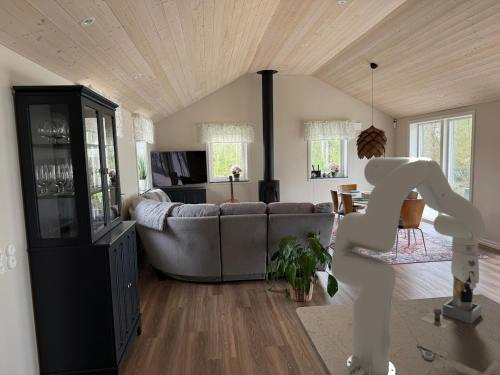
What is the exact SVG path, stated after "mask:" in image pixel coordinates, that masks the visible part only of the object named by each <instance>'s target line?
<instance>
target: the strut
mask: <svg viewBox="0 0 500 375" xmlns="http://www.w3.org/2000/svg"><path fill="white" fill-rule="evenodd" d="M466 282H469V280H466ZM466 286H469V284H466ZM461 291H463V286H462V281H460V280H459V279H457V278H456V277H454V278H453V285H452V298H453V304H452V307H455V308H458V309H462V310H465V311H468V312H471V311H472V303H474V301H473V299H474V291H473V292H472V302H471V303H467V302H461Z"/></svg>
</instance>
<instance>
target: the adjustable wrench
mask: <svg viewBox="0 0 500 375" xmlns="http://www.w3.org/2000/svg"><path fill="white" fill-rule="evenodd" d="M417 347H418V349H419V351H420V353H421V354H422V356H423V358H424V359H426V360H429V361H433V360H435V358H434V356H435V355H434V353H433V352H432V350H430V349H427V348H425V347H423V346H420V345H418V344H417Z"/></svg>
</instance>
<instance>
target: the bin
mask: <svg viewBox="0 0 500 375" xmlns="http://www.w3.org/2000/svg"><path fill="white" fill-rule="evenodd" d="M452 304H453V297H452V298H450V299H449V300H448V301H446V302H445V303H443V304H442V315H443V316H445V317H446V316H447V317H448V318H449V317H450V318H451V319H454V320H459V321H462V322H464V323H467V324H471V325H472V324H473V323H474V322H476V320H477V319H478V318H479V317H481V315H482V305H481V304H478V303H474V302H473V303H472V311H471V312H468V311H465V310H462V309H458V308H455V307H452Z"/></svg>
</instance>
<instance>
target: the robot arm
mask: <svg viewBox="0 0 500 375" xmlns="http://www.w3.org/2000/svg"><path fill="white" fill-rule="evenodd" d="M363 172H364V173H363V174H364V177H365V180H366V182H367V183H369V185H371V186H374V187H373V188H372V190H371V192H370V194H369V196H368V200H367V204H366V209H365V212H364V213H361V212H354V211H353V212H350V213H347V214H345V215H344V216H343V217H342V218H341V220H340V221H339V223H338V225H337V229H336V233H335V234H336V235H335V240H334V246H333V251H332V256H331V264H330V265H331V270H330V271H331V273H332V276H333V278H334V279H335V280H336V281H338V282H340V283H342V284H345V285H347V286H349V287H352V288H354V289H357V290H358V291H359V292H360V294H359V296H358V297H357V298H356V299H355V300H354V303H353V306H352V355H351V356H349V357H348V359H346V360H347V361H346V366H345V367H344V368H343V374H344V375H396V368H395V366H394V364H393V363H392V362H391V361H390V348H391V311H392V309H391V307H392V299H393V298H392V297H393V292H394V289H395V284H396V280H397V279H396V277H397V276H396V270H395V268H394V266H393V265H391V264H390V262H388V261H386V260H385V259H382V258H379V257H376V256H373V255H369V254H365V253H361V252H360V249H363V250H367V251H371V252H374V253H379V254H386V253H389V252H391V251H392V250H393V248H394V247H395V243H396V239H397V234H398V229H399V224H400V217H401V211H402V208H403V207H402V206H403V204H404V202H405V199H406V198H407V197H408V195H409V194H410V193H412V192H413V191H414V190H415V189H416V190H417V192H418V194H419V195H420V197H421V199H422V201H423V202H424V204H425V205H426V206H427V207H428V208H430V209H432V210H434V211H436V212H438V213H440V214H438V215H437V216H436V217H435V218H434V220H433V228H434V230H435V231H436V233H437V234H440V235H442V236H446V237H452V243H451V246H452V247H451V251H452V254H451V263H450V264H451V265H450V270H451V271H450V272H451V274H452V277H453V279H454V277H456V278H457V279H459V280H460V281H462V286H463V291H461V302H467V303H471V302H472V292H473V293H474V289H476V288H477V285H476V284H479V282H480V281H479V280H480V264H479V263H480V262H479V257H478V254H479V253H478V252H479V240H481V239H482V238H483V237H484V235H485V233H486V224H485V221H484V218H483V216H482V213H481V212H480V209H479V208H478V207H477V206H476V205H475V204H474V203H472V202H471V201H470V200H468V199H467V198H465V197H464V196H462V195H461V194H459V193H457V192H455V191H454V190H453V189H452V187H451V185H450V183H449V181H448V179H447V177H446V175H445V173H444V171H443V169H442V168H441V166H440V164H439V162H437V161H436V160H435V159H433V158H428V157H405V156H403V157H402V156H401V157H399V156H398V157H386V156H385V157H380V156H379V157H374V158H371V159H370V160H369V161H367V163H366V165H365V166H364V171H363ZM466 280H469V282H466ZM466 284H469V286H466Z"/></svg>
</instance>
